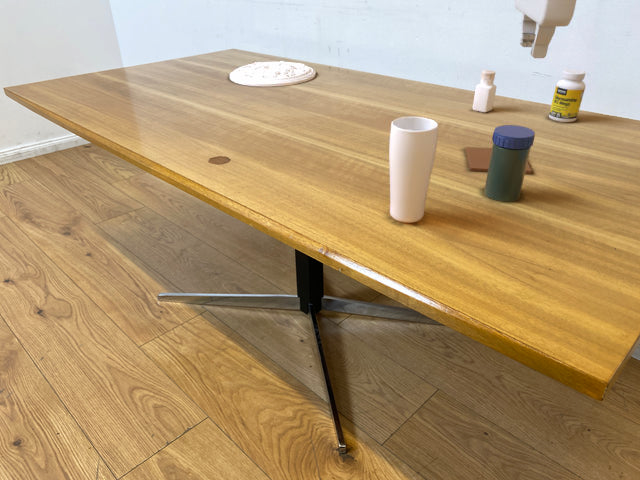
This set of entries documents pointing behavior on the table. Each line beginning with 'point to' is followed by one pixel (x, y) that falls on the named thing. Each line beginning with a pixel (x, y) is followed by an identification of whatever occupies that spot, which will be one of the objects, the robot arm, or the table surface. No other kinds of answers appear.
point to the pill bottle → (568, 96)
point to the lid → (513, 137)
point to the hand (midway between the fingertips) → (531, 51)
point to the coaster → (482, 159)
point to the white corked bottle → (485, 92)
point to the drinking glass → (411, 166)
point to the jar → (506, 173)
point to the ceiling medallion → (272, 74)
